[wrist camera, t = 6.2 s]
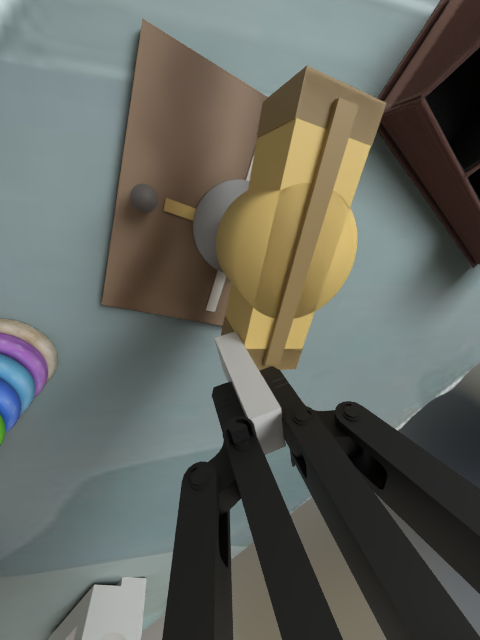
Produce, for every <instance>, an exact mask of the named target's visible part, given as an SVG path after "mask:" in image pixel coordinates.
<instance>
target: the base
mask: <svg viewBox="0 0 480 640" xmlns="http://www.w3.org/2000/svg"><path fill="white" fill-rule="evenodd" d="M267 98H268V97H267V96H265V95H263V94H262V93H260V92H259V91H257V90H255V89H254V88H252V87H251V86H249V85H247V84H246V83H244V82H243V81H241V80H239V79H238V78H236V77H235V76H233V75H231V74H230V73H228V72H227V71H225V70H223V69H222V68H220V67H219V66H217V65H216V64H214V63H212V62H211V61H209V60H208V59H206V58H204V57H203V56H201V55H200V54H198V53H196V52H195V51H193V50H192V49H190V48H188V47H187V46H185V45H184V44H182V43H180V42H179V41H177V40H176V39H174V38H173V37H171V36H169V35H168V34H166V33H165V32H163V31H161V30H160V29H158V28H157V27H155V26H153V25H152V24H150V23H149V22H147V21H145V20H144V19H142V26H141V33H140V40H139V47H138V54H137V61H136V68H135V75H134V82H133V89H132V96H131V103H130V110H129V117H128V124H127V131H126V138H125V145H124V152H123V159H122V166H121V173H120V180H119V187H118V194H117V201H116V208H115V215H114V222H113V229H112V236H111V243H110V250H109V257H108V264H107V270H106V277H105V284H104V291H103V298H102V305H107V306H113V307H118V308H124V309H130V310H135V311H141V312H147V313H152V314H158V315H164V316H170V317H175V318H181V319H187V320H192V321H198V322H204V323H209V324H215V325H221V326H223V321H224V316H225V314H226V308H227V303H228V297H229V292H230V286H231V281H230V280H229V279H228V278H227V276H226V275H225V274H224V272H223V271H222V269H221V266H220V264H219V261H218V258H217V252H216V236H217V231H218V227H219V224H220V221H221V219H222V217H223V215H224V213H225V211H226V210H227V208H228V207H229V206H230V204H231V203H232V202H233V201H234V200H235V199H236V198H237V197H238V196H240V195H241V194H243V193H244V192H246V191H248V186H249V181H250V175H251V169H252V164H253V158H254V153H255V147H256V142H257V138H256V137H257V131H258V126H259V120H260V114H261V109H262V103H263V101H265V100H266V99H267Z"/></svg>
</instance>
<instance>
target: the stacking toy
mask: <svg viewBox="0 0 480 640" xmlns="http://www.w3.org/2000/svg"><path fill="white" fill-rule="evenodd" d="M57 360H58V359H57V353H56V350H55V348H54V346H53V344H52V343H51V341H50V340H49V339H48V338H47V337H46V336H45V335H44V334H42V333H41V332H40V331H38V330H37V329H35V328H33V327H31V326H29V325H27V324H25V323H22V322H19V321H15V320H10V319H1V318H0V445H1V443H2V441H3V439H4V436H5V434H6V433H7V432H8V431H9V430H10V429H11V428H12V427H13V426H14V425H15V423H16V422H17V420H18V418H19V416H20V415H21V414H22V413H23V412H24V411H25V410H26V409H27V408H28V407H29V406H30V404H31V402H32V401H33V398H34V397H35V396H37V395H38V394H39V393H40V392H41V390H42V389H43V388H44V386H45V384H46V382H47V381H48V380H49V379H50V378H51V377H52V376H53V374H54V372H55V370H56V367H57Z"/></svg>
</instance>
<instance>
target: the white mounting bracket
mask: <svg viewBox="0 0 480 640" xmlns="http://www.w3.org/2000/svg"><path fill="white" fill-rule="evenodd" d="M145 589H146V578H134V577H125V578H122V579H121V580H120V581H119V582H118V583H117V584H116V585H115V586H111V585H93V587H92V588H91V589H90V590H89V591H88V593H87V594H86V595H85V596H84V597H83V598H82V600H81V601H80V602H79V603H78V604H77V605H76V607H75V608H74V609H73V610H72V611H71V612H70V614H69V615H68V616H67V617H66V618H65V619H64V621H63V622H62V623H61V624H60V625H59V626H58V628H57V629H56V630H55V631H54V632H53V633H52V635H51V636H50V637H49V639H48V640H141V633H142V622H143V611H144V600H145Z"/></svg>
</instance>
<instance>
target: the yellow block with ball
mask: <svg viewBox="0 0 480 640" xmlns="http://www.w3.org/2000/svg"><path fill="white" fill-rule="evenodd" d="M385 106H386V102H384V101H381V100H379V99H377V98H375V97H373V96H371V95H369V94H366V93H364V92H362V91H360V90H358V89H356V88H354V87H352V86H349V85H347V84H345V83H343V82H341V81H339V80H337V79H335V78H332V77H330V76H328V75H326V74H324V73H322V72H320V71H318V70H315V69H313V68H311V67H309V66H306V67H305V68H303V69H302V70H301V71H300V72H299V73H297V74H296V75H295V76H294V77H293V78H291V79H290V80H289V81H288V82H286V83H285V84H284V85H283V86H282V87H280V88H279V89H278V90H277V91H276V92H274V93H273V94H272V95H271V96H269V97H268V98H267V99H266V100H265V101H263V103H262V109H261V114H260V120H259V126H258V131H257V137H256V138H257V142H256V147H255V153H254V158H253V164H252V169H251V175H250V181H249V186H248V191H246V192H244V193H243V194H241V195H240V196H238V197H237V198H236V199H235V200H234V201H233V202H232V203H231V204H230V206H229V207H228V208H227V210H226V211H225V213H224V215H223V217H222V219H221V221H220V224H219V227H218V231H217V236H216V252H217V258H218V261H219V264H220V266H221V269H222V271H223V272H224V274H225V275H226V276H227V278H228V279H229V280H230V281H231V286H230V292H229V297H228V303H227V308H226V314H225V316H224V321H223V327H222V333H221V335H225V334H229V333H232V332H235V331H236V333H237V334H238V336H239V338H240V339H241V341H242V343H243V344H244V346H245V348H246V349H247V351H248V353H249V355H250V356H251V358H252V360H253V361H254V363H255V365H256V366H257V368H258V370H262V369H265V368H268V367H271V366H274V367H275V368H277V369H279V370H283V369H296V367H297V364H298V361H299V358H300V355H301V352H302V347H303V344H304V341H305V339H306V336H307V333H308V330H309V327H310V324H311V321H312V318H313V315H314V312H315V311H316V310H318V309H319V308H321V307H322V306H324V305H325V304H326V303H327V302H329V301H330V300H331V299H332V298H333V297H334V296H335V295H336V293H337V292H338V291H339V290H340V288H341V287H342V285H343V284H344V282H345V281H346V279H347V277H348V275H349V273H350V271H351V268H352V266H353V263H354V260H355V255H356V250H357V227H356V222H355V218H354V216H353V213H352V211H351V209H350V206H351V203H352V200H353V197H354V194H355V191H356V188H357V186H358V183H359V180H360V177H361V174H362V171H363V168H364V165H365V162H366V159H367V156H368V153H369V150H370V147H371V146H372V144H373V141H374V138H375V135H376V132H377V129H378V127H379V124H380V121H381V118H382V115H383V112H384V109H385Z"/></svg>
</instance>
